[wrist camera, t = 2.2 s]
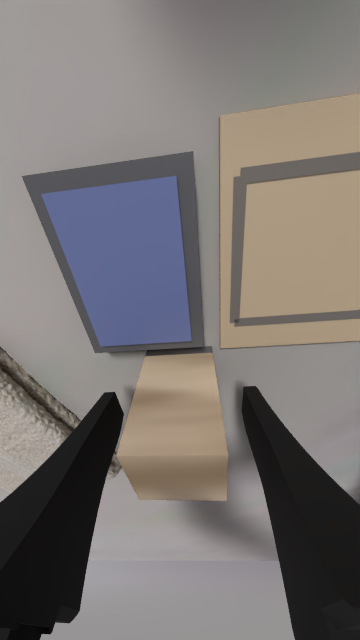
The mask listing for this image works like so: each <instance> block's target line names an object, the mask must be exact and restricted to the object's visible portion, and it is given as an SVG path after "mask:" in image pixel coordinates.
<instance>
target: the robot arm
mask: <svg viewBox="0 0 360 640" xmlns="http://www.w3.org/2000/svg"><path fill="white" fill-rule="evenodd" d="M242 414H243V420H244V424H245V429H246V433H247V436H248V439H249V443H250V446H251V449H252V452H253V456H254V459H255V462H256V465H257V469H258V472H259V475H260V478H261V482H262V486H263V489H264V494H265V498H266V502H267V507H268V511H269V515H270V520H271V525H272V529H273V534H274V538H275V543H276V548H277V553H278V558H279V562H280V567H281V572H282V576H283V582H284V587H285V592H286V597H287V603H288V607H289V613H290V618H291V624H292V629H293V633H294V637H295V640H360V505H359V504H358V503H357V502H356V501H355V500H354V499H353V498H352V497H351V496H350V495H349V494H348V493H347V492H345V491H344V490H343V489H342V488H341V487H340V486H339V485H338V484H337V483H336V482H335V481H334V480H333V479H332V478H331V477H330V476H329V475H328V474H327V473H326V472H325V471H324V470H323V469H322V468H321V467H320V466H319V465H318V464H317V462H316V461H315V460H314V459H313V458H312V457H311V456H310V455H309V454H308V453H307V452H306V451H305V449H304V448H303V447H302V446H301V445H300V444H299V443H298V441H297V440H296V439H295V438H294V437H293V436H292V434H291V433H290V432H289V431H288V429H287V428H286V427H285V426H284V424H283V423H282V422H281V421H280V419H279V418H278V417H277V415H276V414H275V413H274V411H273V410H272V409H271V407H270V406H269V404H268V403H267V402H266V400H265V399H264V397H263V396H262V394H261V393H260V391H259V390H258V388H257V387H256V386H247V387H244V389H243V401H242ZM123 416H124V413H123V411H122V408H121V406H120V404H119V401H118V399H117V396H116V394H115V392H106V393H104V394H103V395H102V396H101V398H100V399H99V400H98V401H97V402H96V404H95V405H94V406H93V407H92V409H91V410H90V411H89V412H88V414H87V415H86V416H85V417H84V419H83V420H82V421H81V422H80V423H79V425H78V426H77V427H76V428H75V429H74V430H73V432H72V433H71V434H70V435H69V436H68V437H67V438H66V439H65V441H64V442H63V443H62V444H61V445H60V446H59V447H58V448H57V449H56V450H55V452H54V453H53V454H52V455H51V456H50V457H49V458H48V459H47V460H46V461H45V462H44V463H43V464H42V465H41V466H40V467H39V468H38V469H37V470H36V471H35V472H34V473H33V474H32V475H30V476H29V477H28V478H27V479H26V480H25V481H24V482H23V483H22V484H21V485H20V486H19V487H17V488H16V489H15V490H14V491H13V492H12V493H11V494H10V495H9V496H7V497H6V498H5V499H4V500H3V501H2V502H0V640H40V637H41V634H51V633H52V631H53V627H54V624H55V622H57V623H70V622H71V621H72V620H73V619H74V618H75V617H76V615H77V614H78V612H79V611H80V604H81V598H82V591H83V586H84V580H85V574H86V568H87V562H88V557H89V552H90V547H91V542H92V536H93V532H94V527H95V522H96V517H97V513H98V508H99V504H100V500H101V495H102V491H103V487H104V484H105V480H106V477H107V474H108V470H109V467H110V464H111V461H112V458H113V455H114V452H115V448H116V445H117V442H118V439H119V435H120V432H121V427H122V422H123Z"/></svg>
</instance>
